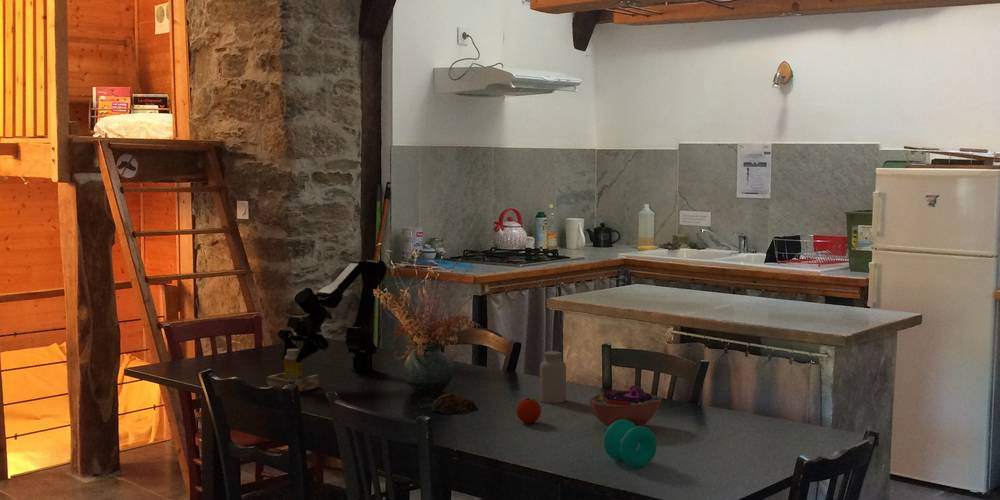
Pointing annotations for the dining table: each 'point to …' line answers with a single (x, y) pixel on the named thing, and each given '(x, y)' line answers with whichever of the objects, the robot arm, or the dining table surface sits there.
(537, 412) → the tomato
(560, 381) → the pill bottle
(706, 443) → the dining table surface
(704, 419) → the dining table surface
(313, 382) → the caddy
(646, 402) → the cell model
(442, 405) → the bread roll
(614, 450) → the green spool
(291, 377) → the supplement bottle
